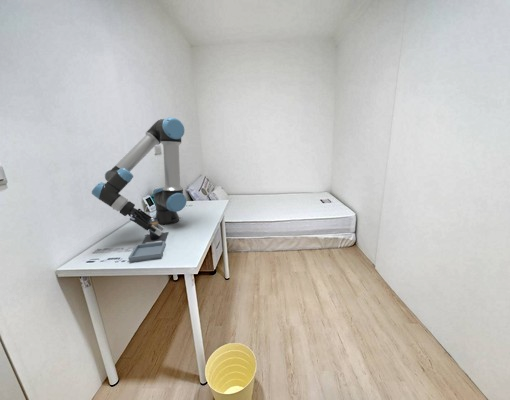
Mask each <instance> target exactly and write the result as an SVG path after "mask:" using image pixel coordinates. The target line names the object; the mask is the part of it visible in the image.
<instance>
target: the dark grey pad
mask: <svg viewBox="0 0 510 400" xmlns="http://www.w3.org/2000/svg"><path fill="white" fill-rule="evenodd" d="M169 234H170V233H169V231H167V232H166V231H165V232H162V234H161V235H160V239H157V240H151V238H150V233H149V234H146V235H145V237H144V239H143V240H142V241H141V244H146V243H154V242H162V241H165V242H166V240H167V238H168V235H169Z"/></svg>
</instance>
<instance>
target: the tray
mask: <svg viewBox="0 0 510 400" xmlns="http://www.w3.org/2000/svg"><path fill="white" fill-rule="evenodd" d="M166 244H167V243H166V241H162V242H154V243H146V244H142V243H140V244H136V245H135V246H134V248H133V249H132V251H131V253H130V255H129V256H128V263H138V262H146V261H152V260H161V259H162V258H163V255H164V250H165V248H166Z"/></svg>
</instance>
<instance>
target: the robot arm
mask: <svg viewBox="0 0 510 400" xmlns="http://www.w3.org/2000/svg"><path fill="white" fill-rule="evenodd" d="M184 134H185V125H184V124H183V122H182V121H181V120H180V119H178V118H176V117H166V118H162V119H158V120H157V121H155V122H154V123H153V124H152V126H150V128H149V129H148V130H147V131H145V135H144V137H142V138H141V139H140V140H139V141H138V142H137V143H136V144H135V145H134V146H133V147H132V148H131V149H130V151H128V153H126V154H125V156H123V157H122V159H120V160H119V161H118V162H117V163H116V164H115V166H114V165H113V167H112V168H111V169H110V170H108V171H106V172H105V174H104V178H105V181H106V182H105V183H104V182H98V184H96V185H95V186H94V188H93V189H92V190H91V194H92V196H94V197H95V198H96V199H98V200H99V201H101V202H102V203H104V204H105V205H107V206H108V207H110V208H112V210H115V211H116V212H119V214H121V215H122V216H124V217H126V216H129V217H130V218H129V221H132V222H134V223H135V224H136V225H138V226H139V227H141V228H142V229H144V230H145V231H149V230H151V231H152V232H154V233H155V234H157V235H158V236H160V235H161V234H162V233H163V231H164V229H165V227H164V226H169V225H172V224H176V223H178V222H179V221H180V216H179V214H178V212H180V211H182V210H183V209H184V208H185V207H186V206H187V205H186V204H187V197H186V196H185V194H184V189H183V187H182V186H181V175H180V174H181V171H180V145H181V144H182V138H183V137H184ZM160 144H162V145H163V165H164V166H163V169H164V187H158V188H154V189H153V191H152V192H153V194H152V195H153V199H154V205H155V211H156V212H155V216H154V218H157V219H158V225H159V229H158V228H156V227H155V226H153V225H152V226H151V225H150V224H149V223H148V221H147V220H148V219H150V218H153V217H152V216H151V215H149V214H148V213H146V212H145V211H143V210H142V208H135V206H136V205H135V203H133V202H132V201H130V200H128V198H126V197H125V196H123V195H122V194H120V193H121V192H122V191H123V189H124V188H125V187H126V186H127V185H128V184H129V183H131V181H132V179H134V175H133V173H132V172H131V171H132V170H133V169H134V168H135V167H136V166H137V165H138V164H139V163H140V162H141V161H142V160H143V159H144V158H145V157H146V156H147V154H149V153H150V152H151V151H152V150H153V149H154V148H155V147H156V145H158V146H159V145H160Z"/></svg>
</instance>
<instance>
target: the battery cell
mask: <svg viewBox="0 0 510 400" xmlns="http://www.w3.org/2000/svg"><path fill="white" fill-rule="evenodd" d="M147 221H148V223H149V224H150V225H151V226H152V225H153V226H155V227H156V228H158V229H159V225H158V219H157V218H155V217H152V218H150V219H148V220H147ZM148 231H149V234H150V238H151V240H157V239H160V236H158V235H157V234H155V233H154V232H152V231H151V230H149V229H148Z"/></svg>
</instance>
